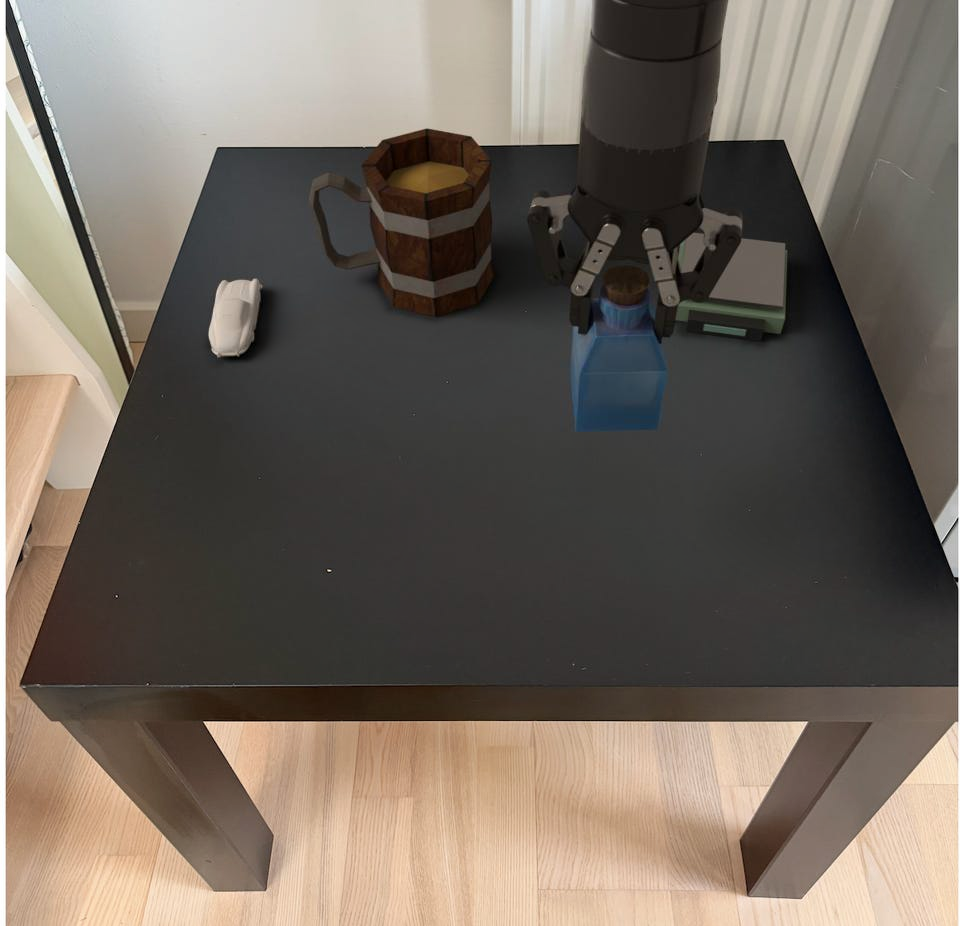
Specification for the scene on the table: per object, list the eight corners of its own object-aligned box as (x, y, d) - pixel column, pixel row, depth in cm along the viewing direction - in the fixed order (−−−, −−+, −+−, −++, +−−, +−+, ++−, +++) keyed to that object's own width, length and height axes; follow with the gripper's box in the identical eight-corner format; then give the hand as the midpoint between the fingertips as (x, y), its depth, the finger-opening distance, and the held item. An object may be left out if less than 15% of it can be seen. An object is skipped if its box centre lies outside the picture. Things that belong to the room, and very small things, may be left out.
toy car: (264, 288, 105) (258, 264, 102) (253, 361, 97) (245, 337, 95) (223, 290, 105) (215, 267, 102) (208, 363, 97) (199, 339, 95)
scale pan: (783, 251, 103) (785, 243, 102) (780, 314, 96) (783, 306, 96) (685, 240, 105) (687, 231, 104) (676, 301, 98) (677, 292, 97)
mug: (491, 240, 110) (489, 125, 98) (496, 314, 101) (494, 198, 90) (329, 246, 110) (308, 133, 98) (320, 321, 101) (295, 206, 90)
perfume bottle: (657, 429, 69) (678, 308, 59) (575, 431, 69) (584, 310, 60) (647, 371, 73) (666, 249, 63) (570, 373, 73) (577, 252, 64)
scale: (783, 265, 105) (787, 249, 103) (780, 345, 97) (784, 330, 95) (678, 252, 107) (681, 237, 105) (666, 330, 99) (669, 314, 97)
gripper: (512, 133, 51) (513, 355, 64) (774, 156, 49) (719, 381, 62) (535, 68, 55) (532, 287, 69) (775, 86, 53) (724, 309, 66)
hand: (621, 330), depth 65 cm, fingers closed on perfume bottle, 4 cm apart
